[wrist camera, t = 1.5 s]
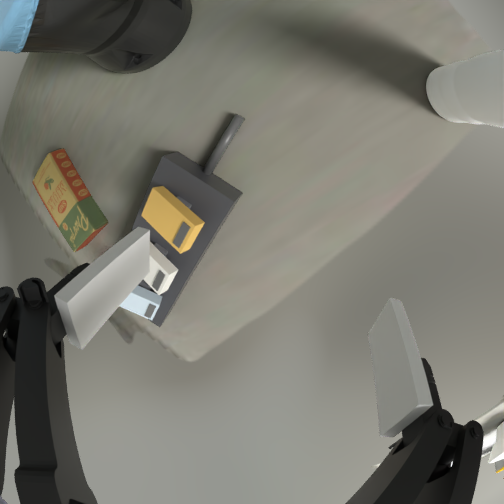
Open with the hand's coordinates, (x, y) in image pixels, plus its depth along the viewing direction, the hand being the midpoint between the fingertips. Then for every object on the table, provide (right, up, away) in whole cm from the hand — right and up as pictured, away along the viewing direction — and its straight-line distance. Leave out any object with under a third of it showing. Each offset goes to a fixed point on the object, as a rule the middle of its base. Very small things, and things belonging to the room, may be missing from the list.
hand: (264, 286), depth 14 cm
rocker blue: (-18, -5, +23) cm, 29 cm away
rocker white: (-14, 0, +20) cm, 24 cm away
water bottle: (+23, +21, +8) cm, 32 cm away
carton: (-31, +11, +26) cm, 42 cm away
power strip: (-10, +6, +23) cm, 26 cm away
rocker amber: (-10, +5, +16) cm, 20 cm away
